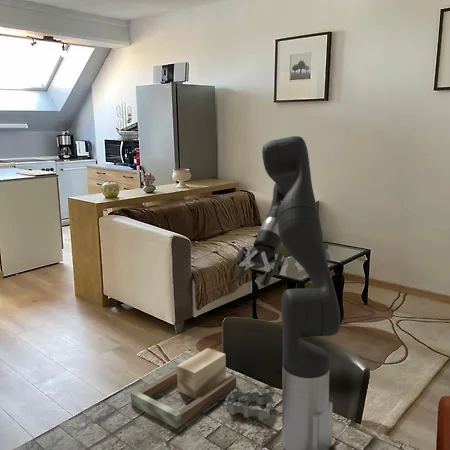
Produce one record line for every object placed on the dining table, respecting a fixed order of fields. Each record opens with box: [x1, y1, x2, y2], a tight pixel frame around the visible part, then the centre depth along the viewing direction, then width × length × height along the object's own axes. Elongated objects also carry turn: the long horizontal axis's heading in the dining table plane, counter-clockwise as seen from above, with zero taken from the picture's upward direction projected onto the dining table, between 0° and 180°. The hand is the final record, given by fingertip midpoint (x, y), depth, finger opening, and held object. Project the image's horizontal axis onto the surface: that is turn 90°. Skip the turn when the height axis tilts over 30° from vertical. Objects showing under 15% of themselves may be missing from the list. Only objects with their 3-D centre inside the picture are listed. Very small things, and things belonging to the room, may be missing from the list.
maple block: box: [176, 347, 227, 400], centre depth 117 cm, size 6×12×7 cm, turn 142°
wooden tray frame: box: [130, 368, 237, 429], centre depth 113 cm, size 15×22×3 cm
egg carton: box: [225, 388, 275, 422], centre depth 106 cm, size 11×8×4 cm
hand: (250, 282), depth 131 cm, fingers open, 8 cm apart
